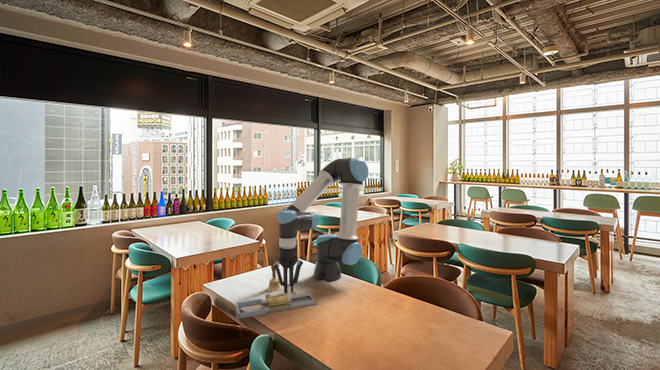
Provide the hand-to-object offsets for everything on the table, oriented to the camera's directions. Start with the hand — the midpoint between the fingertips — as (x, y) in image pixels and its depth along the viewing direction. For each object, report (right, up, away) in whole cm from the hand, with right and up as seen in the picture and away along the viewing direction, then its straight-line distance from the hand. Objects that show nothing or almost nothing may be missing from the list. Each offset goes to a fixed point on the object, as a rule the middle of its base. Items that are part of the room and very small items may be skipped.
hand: (288, 299), depth 135 cm
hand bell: (-9, -2, +17) cm, 19 cm away
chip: (-6, -2, -2) cm, 7 cm away
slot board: (0, -3, 0) cm, 3 cm away
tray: (-15, -3, -6) cm, 16 cm away
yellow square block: (-3, -2, -1) cm, 3 cm away
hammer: (-4, -2, +9) cm, 10 cm away
